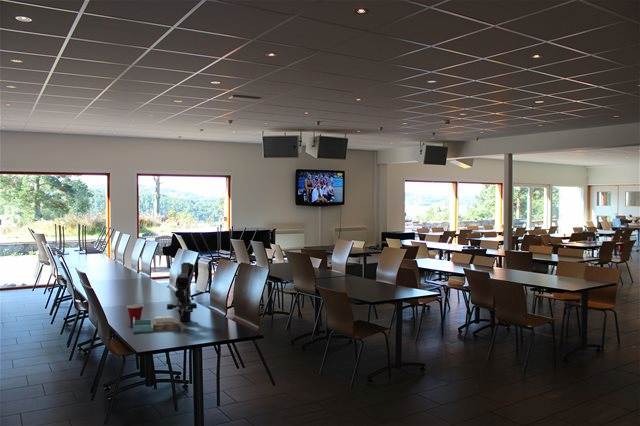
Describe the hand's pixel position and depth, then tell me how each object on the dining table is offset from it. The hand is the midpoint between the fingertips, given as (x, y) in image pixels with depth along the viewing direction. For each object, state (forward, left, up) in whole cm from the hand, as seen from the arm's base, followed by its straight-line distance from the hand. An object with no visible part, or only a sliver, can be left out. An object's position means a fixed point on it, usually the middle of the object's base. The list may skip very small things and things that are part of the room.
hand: (181, 319), depth 347 cm
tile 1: (+14, 0, -1) cm, 14 cm away
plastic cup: (+29, -18, -5) cm, 34 cm away
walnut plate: (+10, 0, -5) cm, 11 cm away
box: (+24, 0, -5) cm, 24 cm away
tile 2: (+8, 0, -1) cm, 8 cm away
